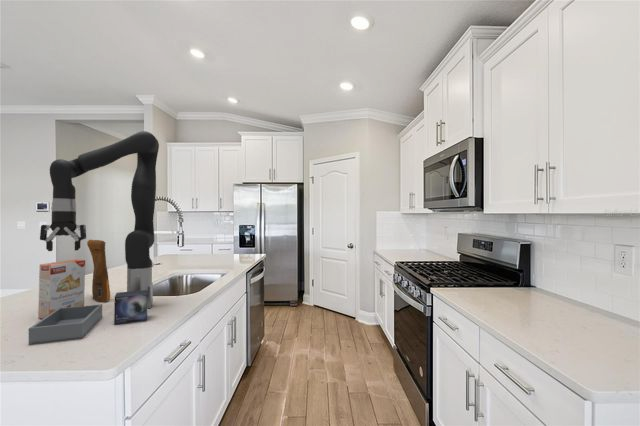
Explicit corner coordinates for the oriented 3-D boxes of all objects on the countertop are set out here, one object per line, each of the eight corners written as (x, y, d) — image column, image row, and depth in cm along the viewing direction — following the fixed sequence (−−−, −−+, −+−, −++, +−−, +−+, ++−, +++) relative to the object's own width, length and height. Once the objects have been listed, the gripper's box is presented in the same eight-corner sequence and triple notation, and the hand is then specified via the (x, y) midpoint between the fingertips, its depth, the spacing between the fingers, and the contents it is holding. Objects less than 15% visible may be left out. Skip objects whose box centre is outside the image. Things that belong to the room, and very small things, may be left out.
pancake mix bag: (96, 305, 135) (96, 241, 135) (85, 296, 147) (86, 238, 148) (113, 301, 140) (114, 240, 140) (102, 294, 153) (103, 237, 153)
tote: (102, 317, 119) (102, 304, 119) (82, 338, 99) (82, 323, 99) (58, 321, 114) (58, 308, 114) (28, 344, 94) (28, 328, 94)
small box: (113, 325, 111) (113, 296, 111) (115, 320, 116) (115, 292, 116) (146, 321, 116) (147, 293, 116) (147, 315, 121) (147, 289, 121)
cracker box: (50, 320, 115) (50, 264, 115) (37, 319, 117) (37, 264, 117) (85, 309, 129) (86, 259, 129) (73, 308, 130) (74, 258, 130)
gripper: (88, 210, 129) (88, 249, 129) (46, 210, 124) (45, 250, 124) (82, 210, 122) (81, 251, 122) (37, 209, 117) (36, 252, 117)
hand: (63, 250), depth 123 cm, fingers open, 8 cm apart
